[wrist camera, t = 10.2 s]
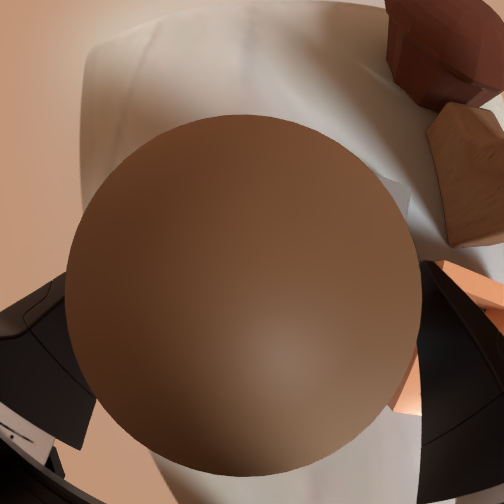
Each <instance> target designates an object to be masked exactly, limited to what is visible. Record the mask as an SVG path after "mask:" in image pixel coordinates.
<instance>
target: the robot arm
mask: <svg viewBox="0 0 504 504" xmlns="http://www.w3.org/2000/svg"><path fill="white" fill-rule="evenodd" d="M419 268H420V273H421V287H422V308H421V319H420V328H419V332H418V337H417V341H416V343H417V352H418V362H419V373H420V388H421V414H422V436H421V446H422V447H421V459H420V474H419V485H418V494H417V504H427V503H433V502H439V501H444V500H448V499H453V498H455V504H504V336H503V334H502V333H501V332H500V331H499V330H498V328H497V327H496V326H495V325H494V324H493V323H492V321H491V320H490V319H489V318H488V317H487V316H486V315H485V313H484V312H483V311H482V310H481V309H480V308H479V307H478V306H477V305H476V304H475V303H474V301H473V300H472V299H471V298H470V297H469V296H468V295H467V294H466V293H465V292H464V291H463V290H462V289H461V288H460V287H459V286H458V285H457V284H456V283H455V282H454V281H453V280H452V279H451V278H450V277H449V276H448V275H447V274H446V273H445V272H444V271H443V270H442V269H441V268H440V267H439V266H438V265H437V264H436V263H435V262H433V261H429V260H422V261H421V262H420V264H419ZM65 280H66V272H64V273H63V274H61V275H59V276H58V277H56V278H55V279H53V281H50V282H48V283H47V284H45V285H44V286H42V287H41V288H39V289H37V290H36V291H34V292H33V293H31V294H29V295H28V296H26V297H24V298H23V299H21V300H19V301H18V302H16V303H14V304H13V305H11V306H9V307H7V308H6V309H4V310H3V311H1V312H0V504H106V503H104V502H102V501H100V500H98V499H96V498H94V497H92V496H90V495H89V494H87V493H85V492H84V491H82V490H80V489H78V488H77V487H75V486H73V485H72V484H70V483H68V482H67V481H66V480H64V477H65V473H64V470H63V468H62V465H61V462H60V459H59V456H58V453H57V450H56V448H55V447H54V446H53V443H54V441H55V439H58V440H60V441H62V442H64V443H66V444H67V445H69V446H71V447H73V448H75V449H77V450H81V448H82V445H83V442H84V438H85V435H86V431H87V428H88V425H89V421H90V419H91V415H92V412H93V409H94V406H95V403H96V399H97V398H96V396H95V395H94V393H93V392H92V390H91V389H90V387H89V385H88V383H87V381H86V379H85V377H84V375H83V374H82V372H81V369H80V367H79V364H78V362H77V359H76V356H75V354H74V351H73V348H72V344H71V340H70V336H69V332H68V326H67V319H66V311H65Z"/></svg>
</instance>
